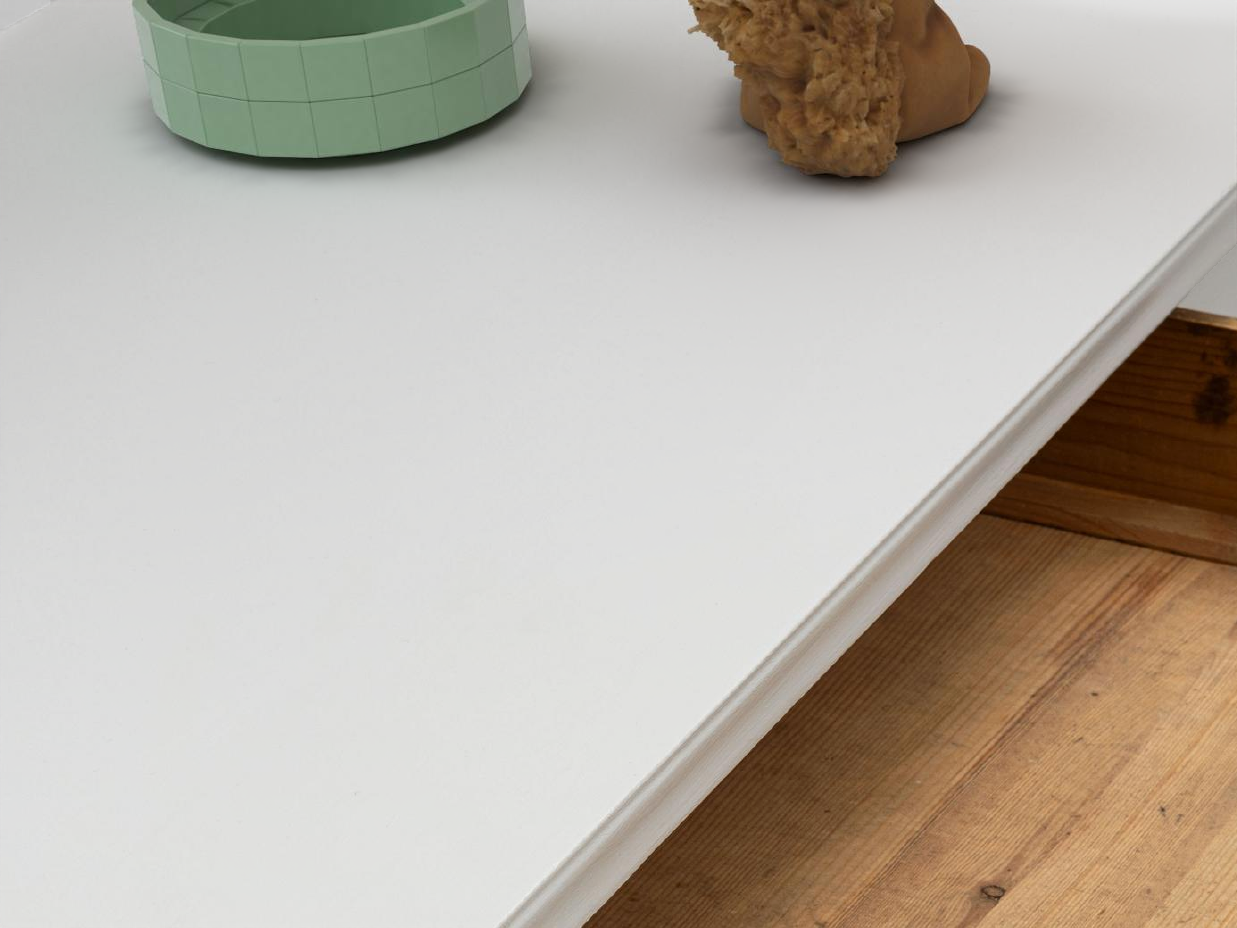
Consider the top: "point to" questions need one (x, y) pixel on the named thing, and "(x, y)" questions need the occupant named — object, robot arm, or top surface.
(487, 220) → the top surface
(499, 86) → the bowl
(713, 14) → the stuffed squirrel
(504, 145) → the top surface
